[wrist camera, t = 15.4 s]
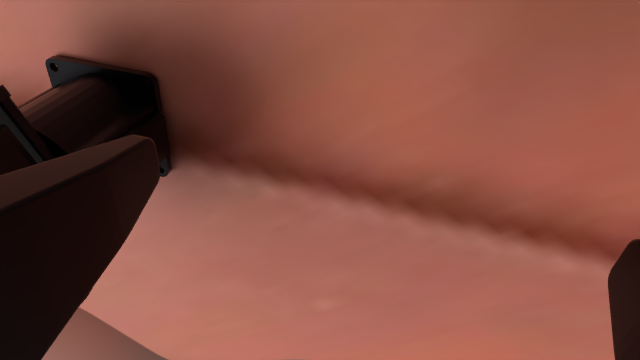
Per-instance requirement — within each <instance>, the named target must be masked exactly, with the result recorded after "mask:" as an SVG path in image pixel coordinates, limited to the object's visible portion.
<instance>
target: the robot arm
mask: <svg viewBox="0 0 640 360" xmlns="http://www.w3.org/2000/svg"><path fill="white" fill-rule="evenodd" d="M55 64H56V65H57V67H58V68H57V67H56V65H55ZM46 68H47V71H48V74H49V77H50V81H51V84H52V88H50V89H48V90H47V91H45V92H43V93H41V94H40V95H38V96H36V97H34V98H32V99H31V100H29V101H27V102H25V103H24V104H22V105H20V106H18V107H17V106H16V105H15V103H14V102H13V101H12V100H11V98H10V96H11V95H10V93H9V92H8V91H7V89H6V88H5V87H4V86H3V85H1V86H0V360H41V359H42V358H43V356H44V355H45V353H46V352H47V351H48V349H49V348H50V346H51V345H52V344H53V342H54V341H55V339H56V338H57V336H58V335H59V334H60V332H61V331H62V330H63V328H64V327H65V325H66V324H67V323H68V321H69V320H70V318H71V317H72V316H73V314H74V313H75V311H76V310H77V309H78V307H79V306H80V305H81V303H82V302H83V301H84V300H85V299H86V298H87V296H88V295H89V293H90V291H91V290H92V288H93V286H94V285H95V283H96V282H97V280H98V279H99V278H100V276H101V275H102V273H103V272H104V271H105V269H106V268H107V266H108V265H109V264H110V262H111V261H112V259H113V258H114V257H115V255H116V254H117V252H118V251H119V249H120V248H121V246H122V245H123V243H124V242H125V240H126V239H127V237H128V235H129V234H130V232H131V230H132V229H133V227H134V225H135V223H136V221H137V220H138V218H139V216H140V214H141V212H142V211H143V209H144V207H145V205H146V204H147V202H148V200H149V198H150V196H151V195H152V193H153V191H154V189H155V187H156V186H157V184H158V181H159V178H160V176H161V177H165V176H167V175H168V174H169V173H170V172H171V169H172V167H171V161H170V155H169V154H170V148H169V141H168V135H167V129H166V122H165V117H164V115H163V110H162V104H161V98H160V91H159V85H158V81H157V79H156V77H155V76H154V75H153V74H151V73H148V72H143V71H138V70H132V69H127V68H121V67H115V66H110V65H104V64H99V63H93V62H88V61H82V60H76V59H71V58H65V57H60V56H53V57H51V58H49V59H47V60H46ZM145 80H147V81H148V82H149V84H150V85H148V84H147V83H146V81H145ZM161 167H162V168H163V169H162V168H161ZM608 291H609V302H610V313H611V324H612V335H613V346H614V355H615V360H640V239H634V240H632V241H631V242H630V243H629V244H628V245H627V247H626V248H625V250H624V251H623V253H622V254H621V256H620V257H619V259H618V260H617V262H616V263H615V265H614V266H613V268H612V269H611V271H610V274H609V277H608Z"/></svg>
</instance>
